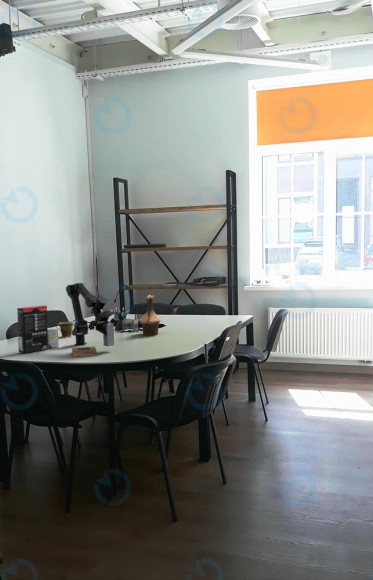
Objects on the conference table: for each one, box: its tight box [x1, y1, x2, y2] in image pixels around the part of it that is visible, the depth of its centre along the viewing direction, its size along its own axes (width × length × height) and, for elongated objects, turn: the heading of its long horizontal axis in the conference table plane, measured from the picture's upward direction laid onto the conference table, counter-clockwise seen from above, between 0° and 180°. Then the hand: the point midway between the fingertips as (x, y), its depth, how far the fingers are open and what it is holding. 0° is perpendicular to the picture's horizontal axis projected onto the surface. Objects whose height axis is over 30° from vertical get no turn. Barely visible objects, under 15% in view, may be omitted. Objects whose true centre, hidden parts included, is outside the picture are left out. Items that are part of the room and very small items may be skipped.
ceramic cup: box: [55, 321, 75, 338], centre depth 352 cm, size 13×10×10 cm
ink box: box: [47, 327, 60, 349], centre depth 313 cm, size 9×5×12 cm, turn 107°
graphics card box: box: [16, 304, 49, 354], centre depth 301 cm, size 17×7×27 cm, turn 141°
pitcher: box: [137, 294, 163, 336], centre depth 352 cm, size 18×17×28 cm
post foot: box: [71, 345, 98, 358], centre depth 289 cm, size 13×13×3 cm
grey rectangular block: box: [102, 323, 115, 347], centre depth 294 cm, size 4×4×13 cm
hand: (109, 334), depth 293 cm, fingers closed on grey rectangular block, 4 cm apart
